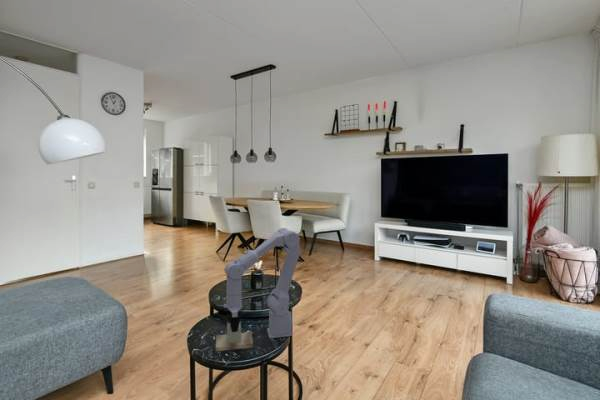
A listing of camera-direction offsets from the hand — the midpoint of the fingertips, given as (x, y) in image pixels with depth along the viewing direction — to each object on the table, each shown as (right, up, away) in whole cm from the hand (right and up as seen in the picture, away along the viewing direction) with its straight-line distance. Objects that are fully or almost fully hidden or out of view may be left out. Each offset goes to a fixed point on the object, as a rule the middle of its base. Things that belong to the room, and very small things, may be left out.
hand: (234, 326), depth 122 cm
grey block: (0, -5, 0) cm, 5 cm away
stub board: (0, -7, 0) cm, 7 cm away
